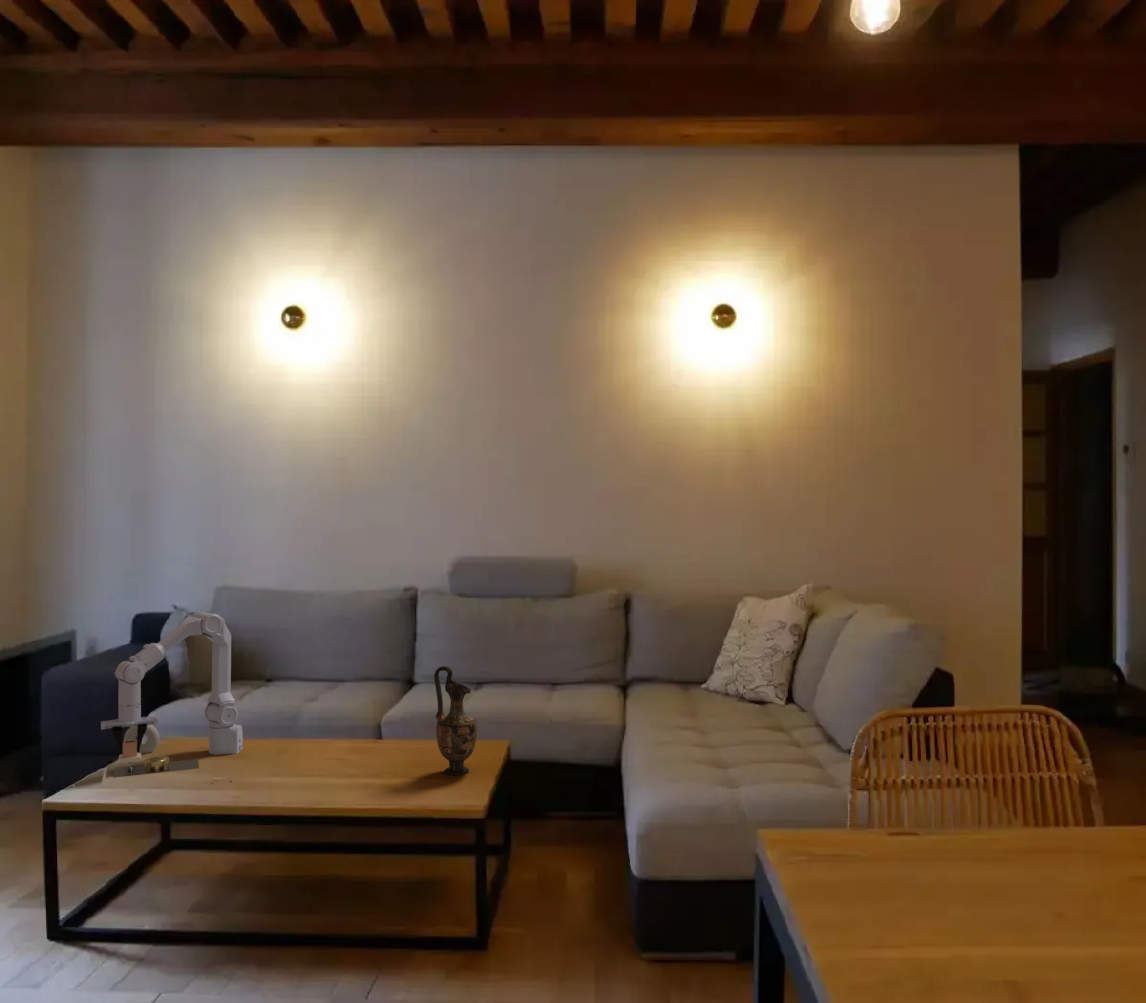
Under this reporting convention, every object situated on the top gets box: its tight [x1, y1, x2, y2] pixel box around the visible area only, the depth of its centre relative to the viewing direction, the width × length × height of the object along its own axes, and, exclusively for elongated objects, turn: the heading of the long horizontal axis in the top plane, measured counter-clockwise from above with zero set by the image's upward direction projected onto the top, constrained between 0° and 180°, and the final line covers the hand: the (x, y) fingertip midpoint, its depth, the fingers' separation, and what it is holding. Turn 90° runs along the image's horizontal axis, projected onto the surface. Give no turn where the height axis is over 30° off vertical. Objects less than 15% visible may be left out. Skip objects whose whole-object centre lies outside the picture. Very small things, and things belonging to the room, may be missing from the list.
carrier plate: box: [113, 755, 200, 779], centre depth 270 cm, size 22×10×4 cm, turn 114°
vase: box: [433, 665, 478, 776], centre depth 271 cm, size 12×12×30 cm
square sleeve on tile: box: [118, 739, 142, 764], centre depth 267 cm, size 6×6×5 cm
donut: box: [123, 724, 160, 755], centre depth 286 cm, size 10×4×10 cm, turn 102°
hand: (129, 752), depth 267 cm, fingers closed on square sleeve on tile, 4 cm apart
